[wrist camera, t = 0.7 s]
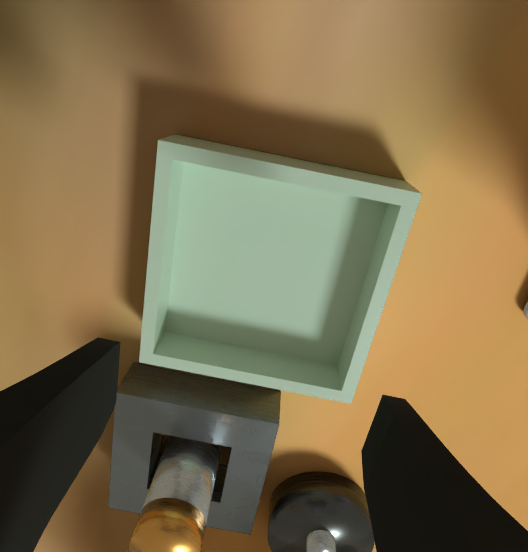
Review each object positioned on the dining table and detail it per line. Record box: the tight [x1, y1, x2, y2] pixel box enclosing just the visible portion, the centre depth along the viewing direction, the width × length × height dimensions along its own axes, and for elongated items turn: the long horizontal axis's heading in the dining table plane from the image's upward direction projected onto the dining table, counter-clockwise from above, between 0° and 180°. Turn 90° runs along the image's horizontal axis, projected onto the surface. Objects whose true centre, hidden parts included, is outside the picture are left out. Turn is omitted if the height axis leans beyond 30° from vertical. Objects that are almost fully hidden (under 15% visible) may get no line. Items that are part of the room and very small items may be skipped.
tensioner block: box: [108, 363, 375, 552], centre depth 24 cm, size 15×11×3 cm
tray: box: [139, 134, 422, 404], centre depth 19 cm, size 10×10×2 cm
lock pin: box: [129, 435, 222, 552], centre depth 21 cm, size 3×3×7 cm
